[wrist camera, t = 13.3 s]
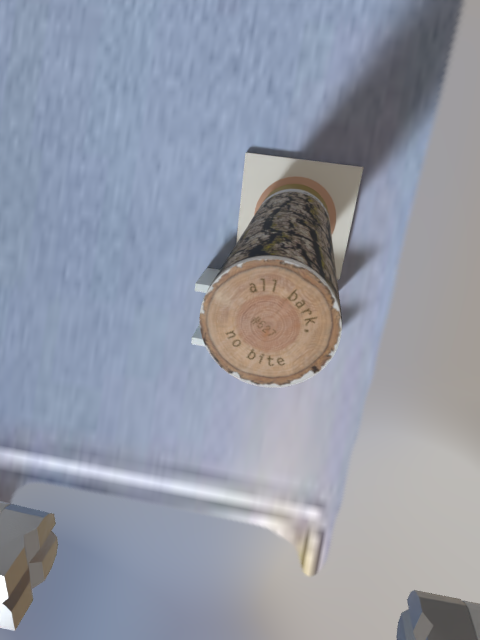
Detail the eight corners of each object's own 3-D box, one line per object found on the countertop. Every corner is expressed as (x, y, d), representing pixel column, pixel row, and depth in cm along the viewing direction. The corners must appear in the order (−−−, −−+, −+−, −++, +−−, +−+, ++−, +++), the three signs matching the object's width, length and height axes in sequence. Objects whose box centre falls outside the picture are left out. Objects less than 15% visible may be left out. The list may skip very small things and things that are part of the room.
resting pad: (246, 152, 42) (245, 152, 42) (362, 166, 41) (363, 167, 41) (235, 262, 47) (234, 264, 46) (339, 277, 46) (339, 279, 45)
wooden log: (292, 166, 41) (263, 226, 19) (344, 215, 43) (374, 327, 20) (245, 220, 44) (171, 327, 22) (295, 265, 45) (273, 411, 23)
